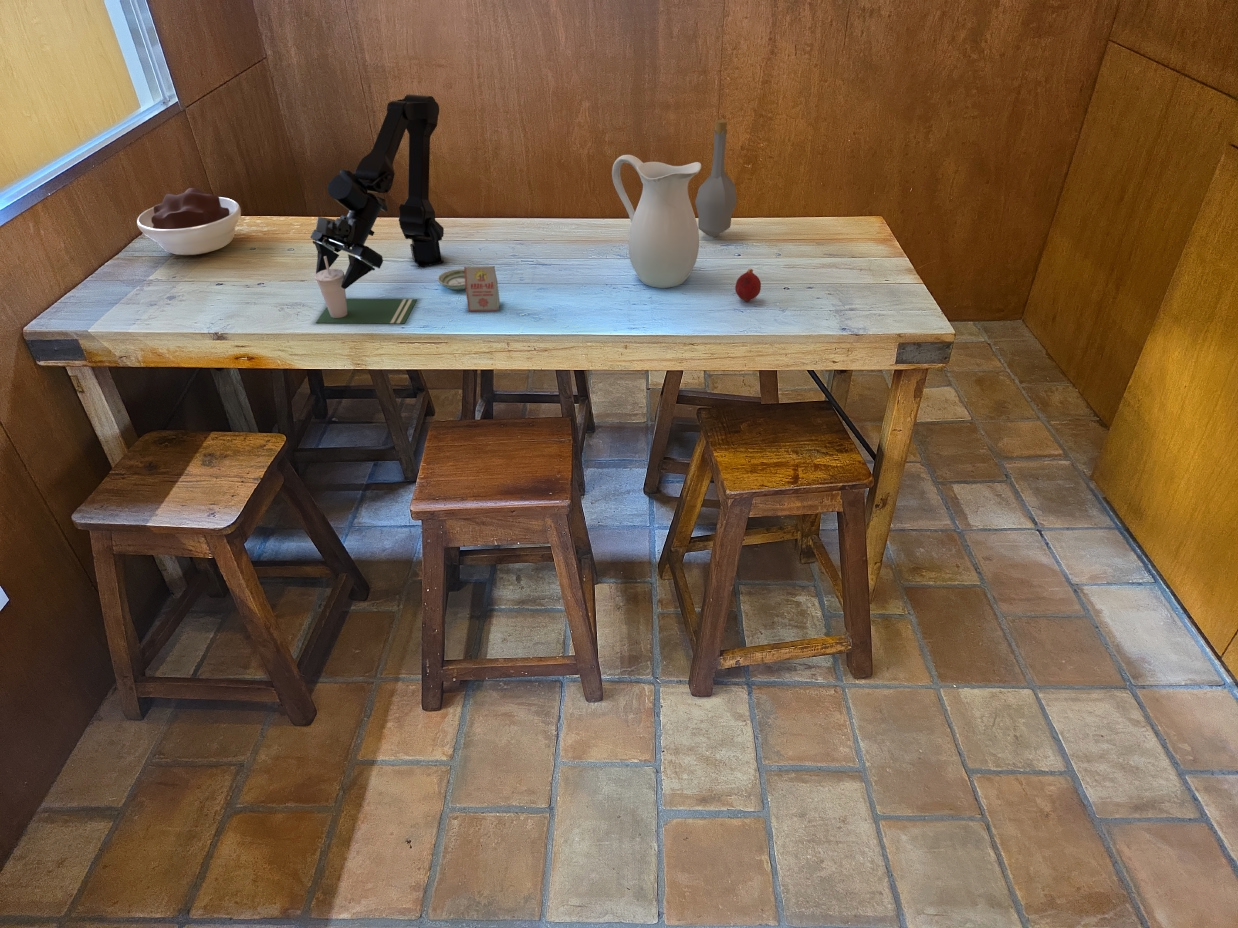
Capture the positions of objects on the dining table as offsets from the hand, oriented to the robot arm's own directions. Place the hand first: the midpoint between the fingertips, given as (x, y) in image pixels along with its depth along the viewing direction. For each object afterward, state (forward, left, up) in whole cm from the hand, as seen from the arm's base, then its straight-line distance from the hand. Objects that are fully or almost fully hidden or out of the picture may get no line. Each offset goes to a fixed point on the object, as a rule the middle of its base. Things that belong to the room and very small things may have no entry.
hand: (330, 282), depth 174 cm
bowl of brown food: (+27, -57, -8) cm, 64 cm away
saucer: (-29, -3, -8) cm, 31 cm away
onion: (-87, +35, -8) cm, 94 cm away
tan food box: (-31, +11, -8) cm, 34 cm away
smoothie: (0, 0, -8) cm, 8 cm away
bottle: (-100, -2, -8) cm, 101 cm away
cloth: (-6, +1, -8) cm, 10 cm away
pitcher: (-74, +12, -8) cm, 76 cm away
